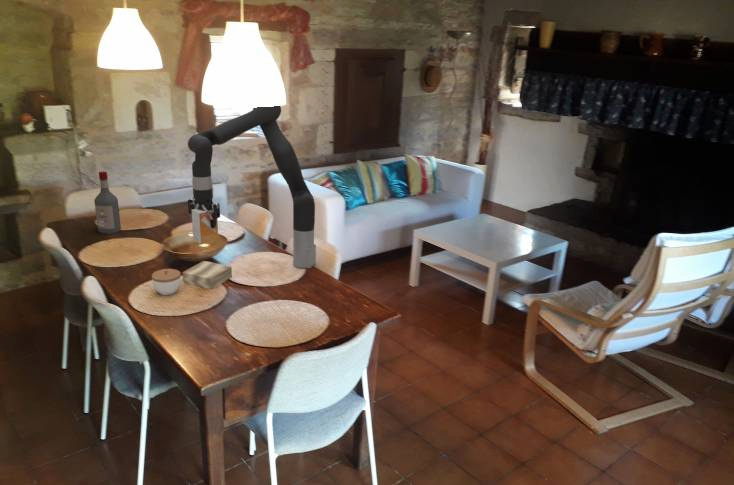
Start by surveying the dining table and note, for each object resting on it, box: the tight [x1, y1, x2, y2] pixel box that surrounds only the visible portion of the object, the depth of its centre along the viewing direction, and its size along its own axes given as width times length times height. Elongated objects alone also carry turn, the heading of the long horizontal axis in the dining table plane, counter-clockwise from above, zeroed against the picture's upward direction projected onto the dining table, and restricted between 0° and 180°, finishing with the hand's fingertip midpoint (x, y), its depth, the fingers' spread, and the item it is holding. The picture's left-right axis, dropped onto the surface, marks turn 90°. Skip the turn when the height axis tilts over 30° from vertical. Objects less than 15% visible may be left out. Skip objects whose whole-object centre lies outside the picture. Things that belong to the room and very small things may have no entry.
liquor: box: [93, 171, 122, 235], centre depth 283 cm, size 9×9×30 cm
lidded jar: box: [151, 268, 182, 296], centre depth 226 cm, size 11×11×9 cm
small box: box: [191, 209, 219, 245], centre depth 231 cm, size 8×6×13 cm
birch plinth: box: [181, 260, 233, 290], centre depth 239 cm, size 14×14×5 cm
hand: (205, 226), depth 231 cm, fingers closed on small box, 7 cm apart
